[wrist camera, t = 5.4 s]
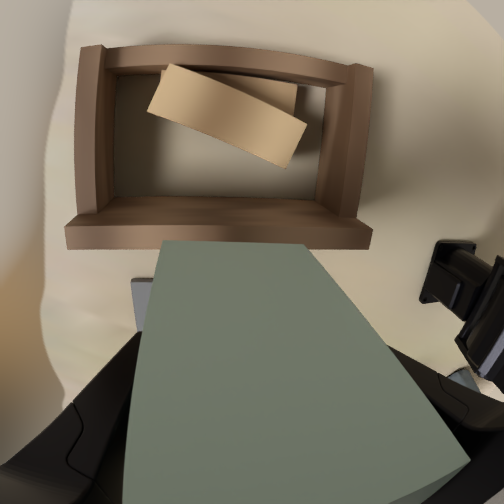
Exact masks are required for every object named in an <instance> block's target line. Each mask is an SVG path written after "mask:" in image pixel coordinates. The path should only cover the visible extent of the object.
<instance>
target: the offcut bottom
mask: <svg viewBox="0 0 504 504" xmlns="http://www.w3.org/2000/svg"><path fill="white" fill-rule="evenodd" d="M165 71H166V70H162V71H161V79H162V77H163V75H164V73H165ZM193 72H195V73H198V74H200V75H203V76H206V77H208V78H211V79H213V80H215V81H218V82H220V83H223V84H225V85H227V86H230V87H232V88H234V89H237V90H239V91H241V92H243V93H246V94H248V95H250V96H252V97H254V98H256V99H259V100H261V101H263V102H265V103H267V104H269V105H271V106H273V107H275V108H277V109H279V110H281V111H283V112H285V113H287V114H289V115H291V116H294V108H295V100H296V92H297V85H296V84H291V83H286V82H280V81H274V80H268V79H262V78H255V77H248V76H240V75H231V74H221V73H210V72H197V71H193ZM161 79H160V82H161ZM156 116H158V115H156ZM158 117H161V116H158Z"/></svg>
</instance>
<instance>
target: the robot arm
mask: <svg viewBox="0 0 504 504" xmlns="http://www.w3.org/2000/svg"><path fill="white" fill-rule="evenodd" d="M475 250H476V244H475V243H473V242H449V241H439V242H437V243H436V245H435V249H434V252H433V256H432V259H431V263H430V266H429V270H428V273H427V276H426V279H425V282H424V286H423V289H422V292H421V295H420V297H419V301H420V302H421V303H422V304H426V303H433V302H441V303H442V304H443V305H444V306H445V307H446V308H448V309H449V310H451V311H452V312H453V313H454V314H455V315H456V316H457V317H458V318H459V319H461V320H462V321H464V322H465V324H464V326H463V328H462V329H461V331H460V333H459V334H458V335H457V336H456V338H455V340H454V341H455V342H456V344H457V345H458V347H459V349H460V351H461V352H462V354H463V355H464V357H465V358H466V360H467V362H468V363H469V365H470V366H471V368H472V370H473V371H474V373H476V374H477V376H478V377H482V378H484V379H486V380H488V381H492V382H493V383H494V384H495V385H496V386H497V387H498V388H499V389H500V391H501V392H502V393H503V394H504V258H503V257H501V256H499V255H497V256H496V259H495V264H494V266H493V267H492V266H490V265H489V264H487V263H486V262H484V261H483V260H481V259H480V258H478V257H476V256H475V255H474V254H475ZM141 336H142V331H138V332H137V333H136V334H135V335H134V336H133V337H132V338H131V339H130V340H129V341H128V342H127V343H126V344H125V345H124V346H123V347H122V348H121V349H120V350H119V351H118V353H117V354H116V355H115V356H114V357H113V358H112V359H111V360H110V361H109V362H108V363H107V364H106V365H105V366H104V367H103V368H102V369H101V371H100V372H99V373H98V374H97V375H96V376H95V377H94V378H93V379H92V380H91V381H90V382H89V383H88V384H87V386H86V387H85V388H84V389H83V390H82V391H81V392H80V393H79V394H78V395H77V396H76V397H75V399H74V400H73V403H72V402H71V403H70V404H69V405H68V406H67V407H66V408H65V409H64V410H63V411H62V413H61V414H60V415H59V416H58V417H57V418H56V419H55V420H54V421H53V422H52V423H51V424H50V425H49V426H47V427H46V428H45V429H44V430H43V431H42V432H41V433H40V434H39V435H38V436H36V437H35V438H34V439H33V440H32V441H31V442H29V443H28V444H27V445H26V446H25V447H24V448H22V449H21V450H20V451H19V452H18V453H17V454H15V455H14V456H13V457H12V458H11V459H10V460H8V461H7V462H6V463H4V464H2V465H1V466H0V504H122V498H123V479H124V464H125V452H126V441H127V431H128V422H129V414H130V406H131V398H132V391H133V384H134V377H135V371H136V365H137V359H138V353H139V347H140V341H141ZM387 346H388V345H387ZM388 347H389V349H390V350H391V351H392V353H393V354H394V355H395V357H396V358H397V359H398V360H399V362H400V363H401V364H402V366H403V367H404V368H405V370H406V371H407V372H408V373H409V375H410V376H411V377H412V379H413V380H414V381H415V383H416V384H417V385H418V387H419V388H420V389H421V391H422V392H423V394H424V395H425V396H426V398H427V399H428V400H429V402H430V403H431V404H432V406H433V407H434V409H435V410H436V411H437V413H438V414H439V415H440V417H441V418H442V420H443V421H444V422H445V424H446V425H447V427H448V428H449V429H450V431H451V432H452V434H453V435H454V437H455V438H456V439H457V441H458V442H459V444H460V445H461V447H462V448H463V450H464V451H465V453H466V454H467V455H468V457H469V458H470V460H471V461H470V462H469V463H468V464H467V465H465V466H464V467H463V468H462V469H461V470H460V471H459V472H458V473H457V474H456V475H455V476H454V477H453V478H451V479H450V480H449V481H448V482H447V483H446V484H445V485H443V486H442V487H441V488H440V489H439V490H437V491H436V492H435V493H434V494H433V495H431V496H430V497H429V498H427V499H426V500H425V501H424V502H422V503H421V504H504V402H500V401H498V400H495V399H493V398H490V397H488V396H486V395H484V394H481V393H479V392H477V391H474V390H472V389H470V388H468V387H466V386H463V385H461V384H459V383H457V382H455V381H453V380H451V379H449V378H447V377H445V376H444V375H442V374H440V373H437V372H436V371H434V370H432V369H430V368H429V367H427V366H425V365H423V364H421V363H419V362H418V361H416V360H414V359H412V358H410V357H408V356H407V355H405V354H403V353H401V352H399V351H397V350H396V349H394V348H392V347H390V346H388Z"/></svg>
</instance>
